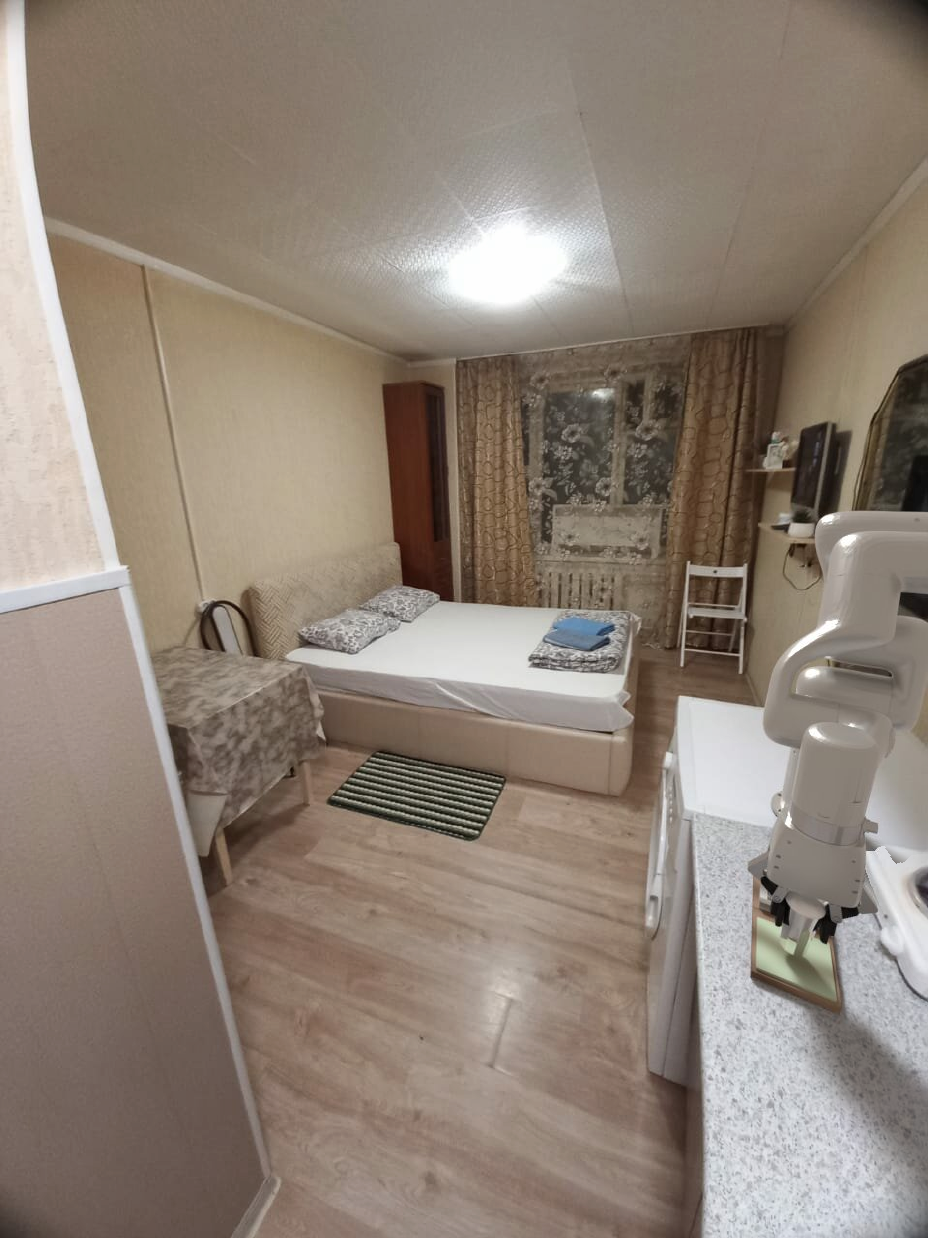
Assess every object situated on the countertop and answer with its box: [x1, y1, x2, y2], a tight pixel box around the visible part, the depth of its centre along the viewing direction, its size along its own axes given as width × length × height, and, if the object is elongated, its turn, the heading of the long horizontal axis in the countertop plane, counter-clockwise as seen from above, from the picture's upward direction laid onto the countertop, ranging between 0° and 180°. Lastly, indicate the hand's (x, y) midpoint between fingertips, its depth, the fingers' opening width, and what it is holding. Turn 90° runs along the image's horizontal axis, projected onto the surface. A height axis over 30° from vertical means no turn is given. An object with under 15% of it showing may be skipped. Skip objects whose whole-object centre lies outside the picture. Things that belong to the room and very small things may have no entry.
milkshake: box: [779, 890, 829, 957], centre depth 67 cm, size 5×5×10 cm
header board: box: [749, 868, 843, 1016], centre depth 73 cm, size 22×10×2 cm, turn 149°
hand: (799, 926), depth 67 cm, fingers closed on milkshake, 4 cm apart
